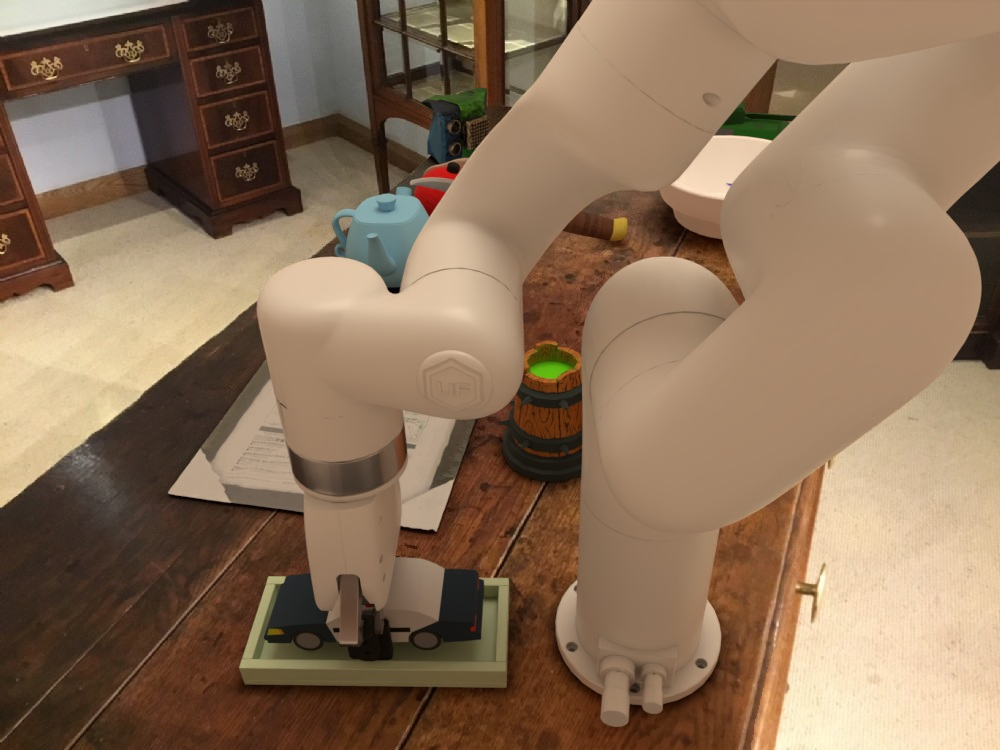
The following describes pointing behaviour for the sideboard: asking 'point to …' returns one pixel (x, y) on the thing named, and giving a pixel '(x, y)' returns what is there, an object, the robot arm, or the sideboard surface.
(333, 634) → the toy car
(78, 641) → the sideboard surface
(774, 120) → the toy tank
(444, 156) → the sculpture
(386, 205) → the teapot
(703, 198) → the bowl
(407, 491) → the picture frame
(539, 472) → the mug
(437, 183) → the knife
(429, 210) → the ornament
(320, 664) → the shallow tray
